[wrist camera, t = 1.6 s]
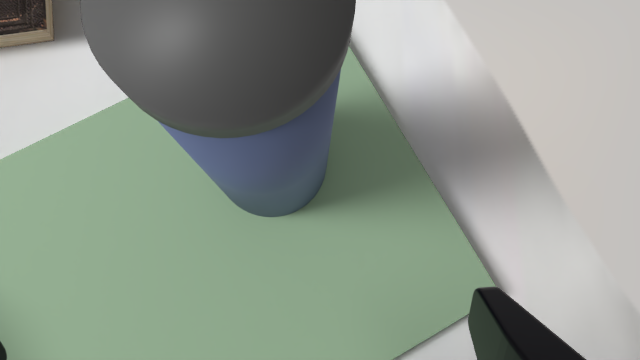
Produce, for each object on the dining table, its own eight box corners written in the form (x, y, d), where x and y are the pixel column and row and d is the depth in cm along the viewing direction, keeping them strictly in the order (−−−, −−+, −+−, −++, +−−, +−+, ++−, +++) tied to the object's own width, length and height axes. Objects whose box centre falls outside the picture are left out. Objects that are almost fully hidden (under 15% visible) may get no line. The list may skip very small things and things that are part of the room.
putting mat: (495, 294, 21) (500, 294, 21) (-288, 763, 17) (-310, 780, 16) (322, 10, 24) (323, 3, 23) (-386, 353, 20) (-406, 355, 19)
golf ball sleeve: (349, 185, 22) (406, 42, 9) (247, 240, 21) (150, 171, 8) (295, 90, 22) (276, -161, 10) (195, 141, 22) (37, -59, 9)
